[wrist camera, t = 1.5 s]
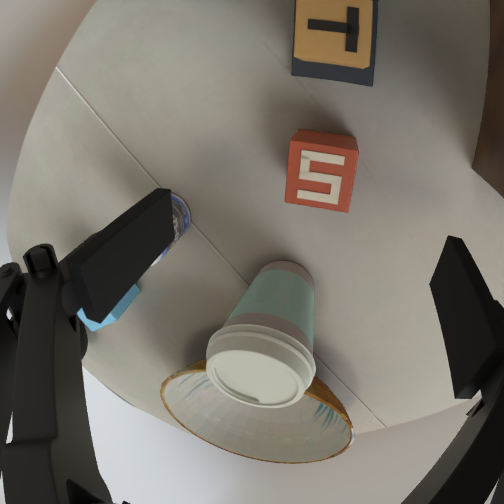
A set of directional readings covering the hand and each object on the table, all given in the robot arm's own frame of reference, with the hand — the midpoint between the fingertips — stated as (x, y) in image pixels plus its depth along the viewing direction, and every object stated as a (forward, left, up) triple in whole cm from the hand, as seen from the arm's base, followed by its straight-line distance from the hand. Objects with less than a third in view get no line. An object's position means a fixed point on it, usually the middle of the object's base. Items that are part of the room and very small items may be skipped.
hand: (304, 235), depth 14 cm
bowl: (+30, -2, -12) cm, 33 cm away
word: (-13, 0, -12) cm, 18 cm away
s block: (0, 0, -12) cm, 12 cm away
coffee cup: (+13, -2, -13) cm, 18 cm away
